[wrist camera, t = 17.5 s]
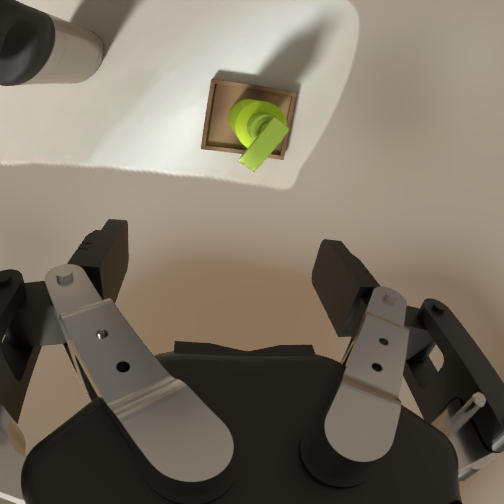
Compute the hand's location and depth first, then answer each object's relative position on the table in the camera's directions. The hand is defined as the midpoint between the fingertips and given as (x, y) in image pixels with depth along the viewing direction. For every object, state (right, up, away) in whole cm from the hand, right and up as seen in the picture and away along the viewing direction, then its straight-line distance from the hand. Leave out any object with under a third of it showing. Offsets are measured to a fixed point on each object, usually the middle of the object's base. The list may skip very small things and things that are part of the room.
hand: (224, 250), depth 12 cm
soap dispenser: (0, +20, +32) cm, 37 cm away
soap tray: (0, +21, +32) cm, 39 cm away
